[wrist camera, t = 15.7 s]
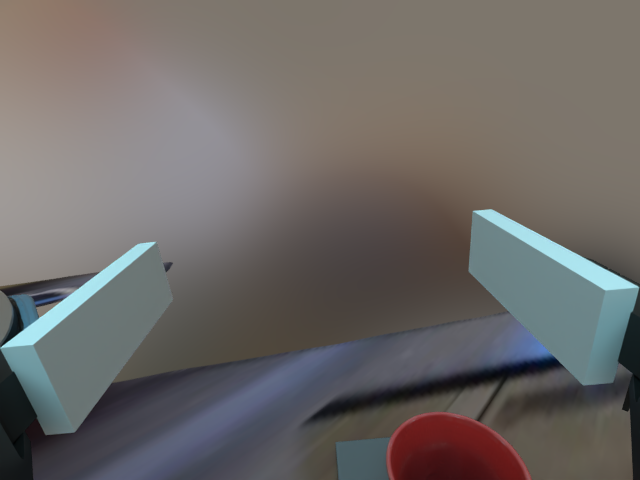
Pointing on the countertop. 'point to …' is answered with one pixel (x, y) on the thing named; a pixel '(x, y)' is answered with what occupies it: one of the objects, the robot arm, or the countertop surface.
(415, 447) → the flower pot
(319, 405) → the countertop surface
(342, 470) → the slate coaster
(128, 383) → the countertop surface
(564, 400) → the countertop surface
